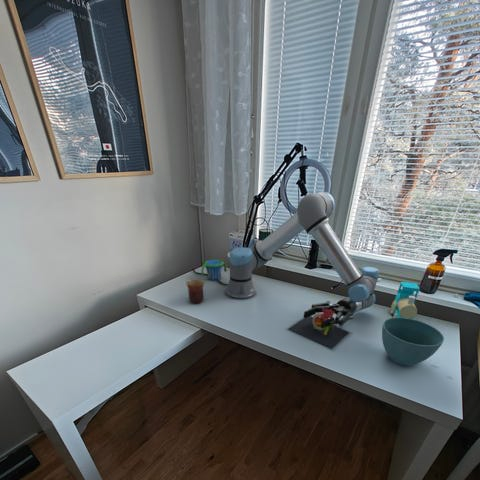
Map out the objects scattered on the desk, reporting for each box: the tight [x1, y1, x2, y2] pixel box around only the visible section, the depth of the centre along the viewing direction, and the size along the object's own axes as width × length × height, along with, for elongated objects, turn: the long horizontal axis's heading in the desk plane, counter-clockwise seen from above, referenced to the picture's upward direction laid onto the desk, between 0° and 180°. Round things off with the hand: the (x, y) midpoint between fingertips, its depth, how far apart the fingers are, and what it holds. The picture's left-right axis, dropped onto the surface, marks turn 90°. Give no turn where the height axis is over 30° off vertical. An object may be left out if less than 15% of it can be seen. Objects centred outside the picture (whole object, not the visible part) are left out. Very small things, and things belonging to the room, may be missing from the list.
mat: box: [288, 316, 350, 350], centre depth 113 cm, size 20×16×1 cm
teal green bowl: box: [381, 317, 445, 366], centre depth 95 cm, size 18×18×12 cm
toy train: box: [390, 281, 420, 320], centre depth 119 cm, size 8×17×15 cm, turn 160°
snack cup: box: [200, 259, 227, 281], centre depth 160 cm, size 16×10×10 cm
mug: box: [185, 278, 205, 305], centre depth 135 cm, size 12×9×10 cm
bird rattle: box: [312, 308, 335, 335], centre depth 109 cm, size 6×11×9 cm
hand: (313, 319), depth 107 cm, fingers open, 9 cm apart
